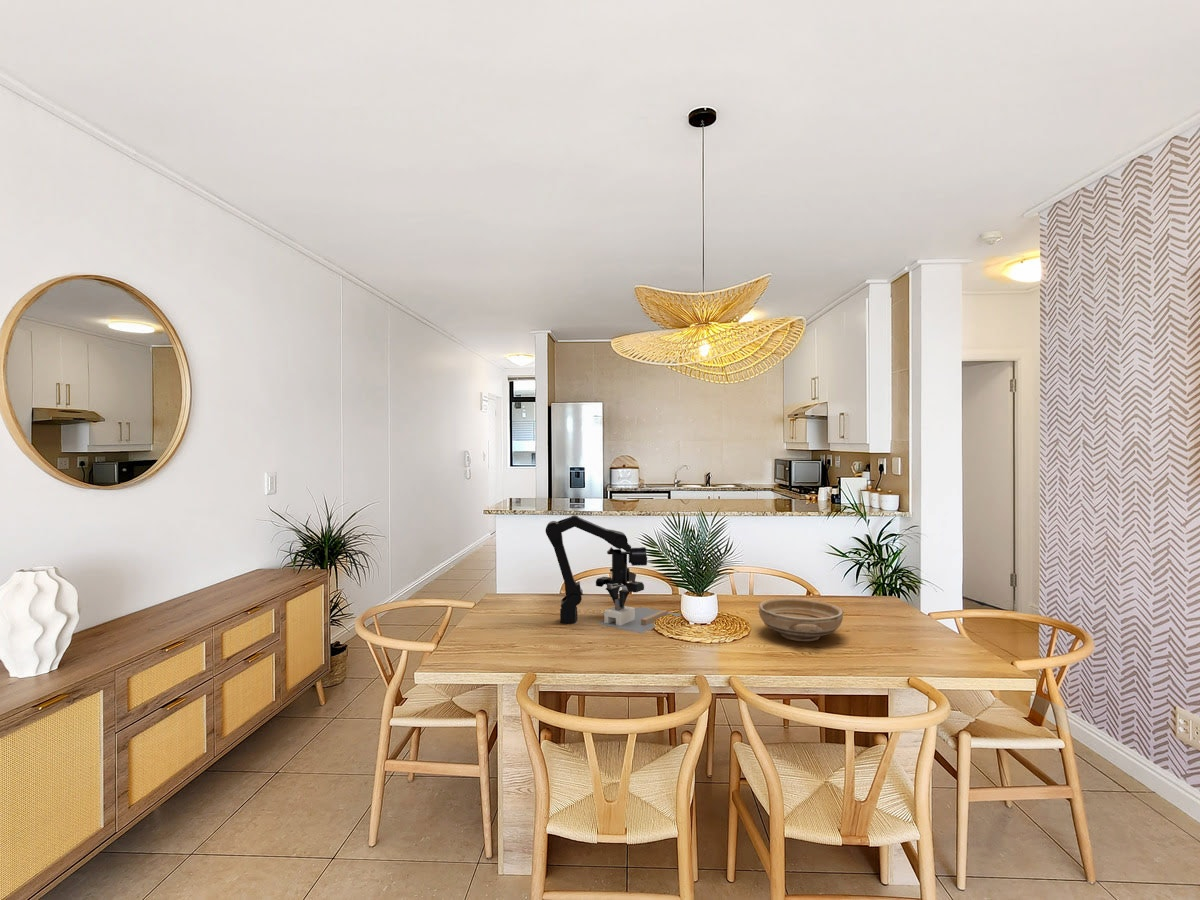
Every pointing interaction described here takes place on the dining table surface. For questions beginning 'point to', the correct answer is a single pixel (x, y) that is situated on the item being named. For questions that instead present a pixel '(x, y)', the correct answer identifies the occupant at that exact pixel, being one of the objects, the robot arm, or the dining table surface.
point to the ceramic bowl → (800, 617)
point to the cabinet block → (619, 614)
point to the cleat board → (637, 621)
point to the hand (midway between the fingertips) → (619, 607)
